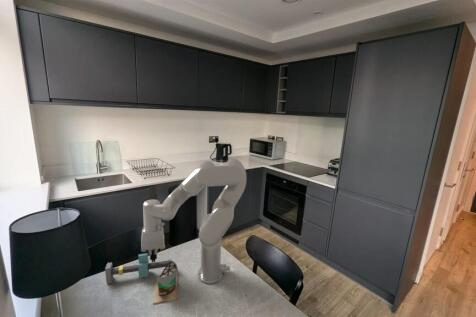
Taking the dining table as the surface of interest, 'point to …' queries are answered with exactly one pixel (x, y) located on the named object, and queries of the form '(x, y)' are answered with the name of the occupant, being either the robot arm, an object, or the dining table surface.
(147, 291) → the dining table surface
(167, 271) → the food container
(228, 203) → the robot arm
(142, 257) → the sleeve
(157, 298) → the mat
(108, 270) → the rail
